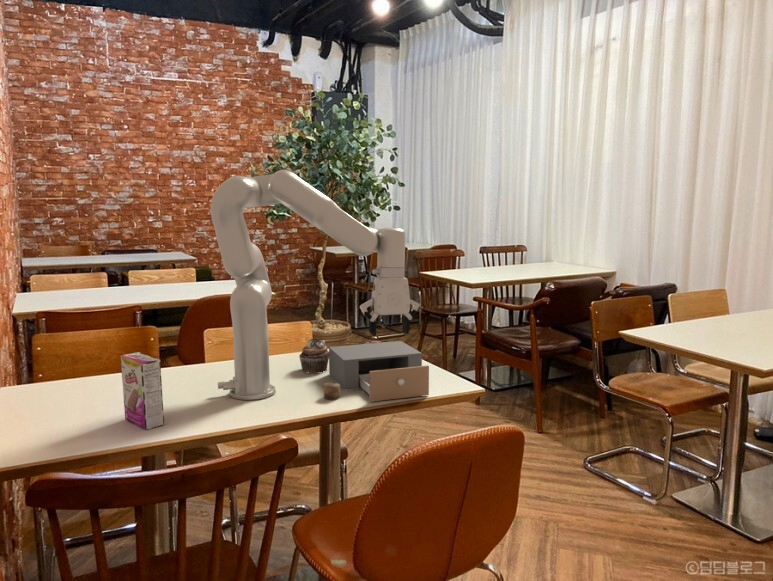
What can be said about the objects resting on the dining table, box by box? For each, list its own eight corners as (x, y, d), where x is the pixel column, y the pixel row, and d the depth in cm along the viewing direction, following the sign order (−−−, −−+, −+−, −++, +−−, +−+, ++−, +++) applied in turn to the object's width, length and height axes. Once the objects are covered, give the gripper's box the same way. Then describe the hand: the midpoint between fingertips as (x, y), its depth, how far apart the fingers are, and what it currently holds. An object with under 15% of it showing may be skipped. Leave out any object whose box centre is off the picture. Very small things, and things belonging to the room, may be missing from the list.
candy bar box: (123, 419, 149) (119, 355, 147) (143, 414, 153) (139, 351, 151) (145, 431, 142) (141, 363, 140) (165, 425, 146) (161, 358, 143)
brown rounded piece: (326, 400, 164) (325, 388, 163) (322, 395, 168) (322, 383, 167) (341, 398, 165) (341, 386, 165) (337, 394, 169) (337, 382, 169)
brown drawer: (430, 395, 166) (430, 367, 165) (371, 402, 161) (371, 372, 160) (406, 378, 183) (406, 352, 182) (352, 384, 177) (352, 357, 176)
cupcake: (300, 366, 198) (299, 336, 197) (329, 365, 199) (329, 335, 198) (298, 374, 189) (298, 343, 187) (329, 373, 190) (329, 342, 188)
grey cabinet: (421, 381, 181) (421, 353, 180) (344, 390, 173) (344, 360, 172) (401, 367, 197) (401, 341, 195) (329, 374, 189) (328, 347, 187)
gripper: (365, 275, 160) (364, 338, 162) (425, 274, 166) (423, 335, 168) (356, 272, 167) (355, 332, 169) (414, 271, 173) (413, 329, 175)
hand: (389, 333), depth 169 cm, fingers open, 9 cm apart
